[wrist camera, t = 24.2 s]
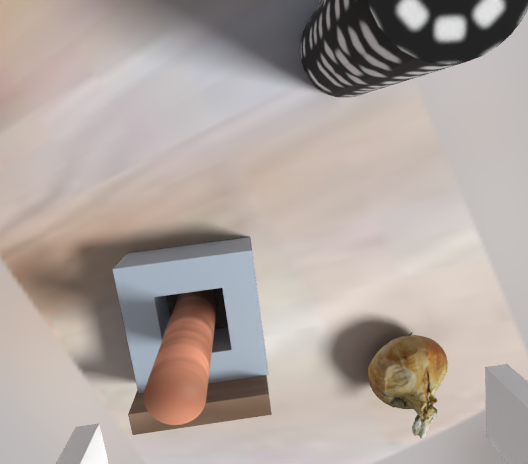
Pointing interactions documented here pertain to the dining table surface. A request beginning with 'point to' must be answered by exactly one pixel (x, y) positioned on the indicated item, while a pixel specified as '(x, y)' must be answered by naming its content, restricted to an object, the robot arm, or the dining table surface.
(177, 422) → the dowel
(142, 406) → the walnut wall
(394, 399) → the onion
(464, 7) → the white-spotted black cylinder
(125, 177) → the dining table surface
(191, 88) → the dining table surface
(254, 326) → the socket block
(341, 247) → the dining table surface
